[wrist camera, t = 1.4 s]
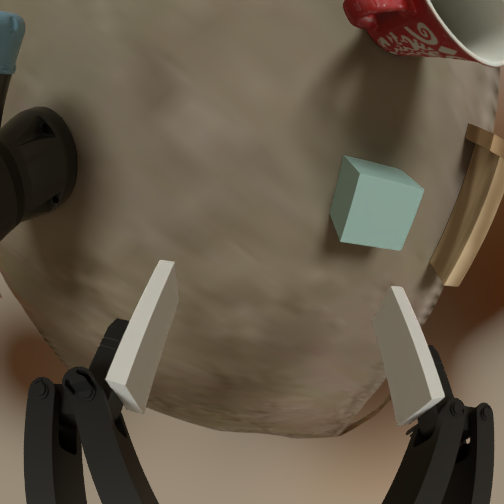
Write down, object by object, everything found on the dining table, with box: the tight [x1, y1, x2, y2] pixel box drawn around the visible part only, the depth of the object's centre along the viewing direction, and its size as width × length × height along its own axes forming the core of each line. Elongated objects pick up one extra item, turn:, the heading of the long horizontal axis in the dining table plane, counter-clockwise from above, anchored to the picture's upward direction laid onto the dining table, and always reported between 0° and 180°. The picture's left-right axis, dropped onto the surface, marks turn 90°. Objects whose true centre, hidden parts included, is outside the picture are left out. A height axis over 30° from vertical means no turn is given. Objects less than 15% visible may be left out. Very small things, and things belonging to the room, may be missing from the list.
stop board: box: [430, 123, 504, 286], centre depth 25 cm, size 5×20×5 cm, turn 174°
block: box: [329, 155, 424, 251], centre depth 26 cm, size 7×7×6 cm
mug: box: [343, 0, 504, 67], centre depth 12 cm, size 13×9×14 cm
